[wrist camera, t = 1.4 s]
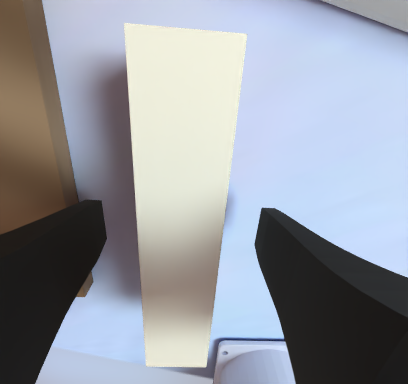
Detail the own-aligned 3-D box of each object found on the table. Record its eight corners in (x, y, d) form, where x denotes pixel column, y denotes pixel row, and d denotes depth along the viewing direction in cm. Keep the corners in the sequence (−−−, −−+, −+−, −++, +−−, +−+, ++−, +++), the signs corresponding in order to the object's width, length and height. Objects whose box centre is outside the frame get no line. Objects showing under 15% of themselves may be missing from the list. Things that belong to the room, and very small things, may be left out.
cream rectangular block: (204, 287, 16) (206, 367, 11) (161, 286, 16) (146, 366, 11) (225, 59, 10) (247, 33, 6) (158, 54, 10) (123, 23, 5)
